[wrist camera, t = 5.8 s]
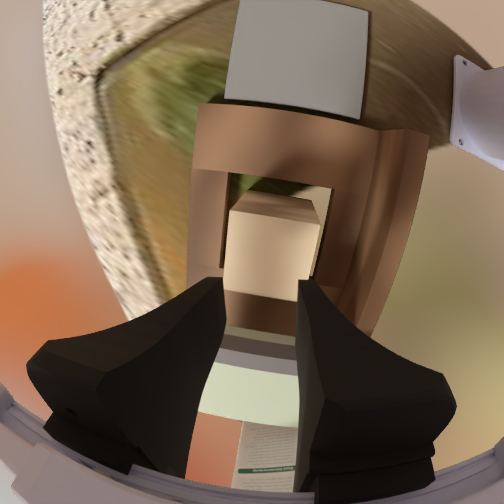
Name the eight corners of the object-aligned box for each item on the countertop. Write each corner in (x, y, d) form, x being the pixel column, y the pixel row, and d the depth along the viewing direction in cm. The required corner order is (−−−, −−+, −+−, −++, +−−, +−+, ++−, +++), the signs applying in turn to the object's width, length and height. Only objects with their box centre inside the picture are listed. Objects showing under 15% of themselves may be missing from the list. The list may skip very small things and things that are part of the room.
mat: (366, 14, 12) (368, 11, 12) (357, 120, 16) (359, 119, 15) (243, -4, 13) (241, -7, 12) (226, 99, 16) (224, 98, 16)
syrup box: (247, 381, 26) (220, 508, 13) (303, 371, 25) (299, 510, 11) (265, 410, 28) (248, 520, 15) (315, 402, 27) (314, 520, 13)
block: (311, 200, 18) (320, 225, 13) (299, 258, 20) (302, 302, 15) (247, 189, 19) (229, 210, 13) (240, 248, 21) (222, 289, 15)
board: (389, 135, 16) (430, 135, 10) (323, 366, 24) (327, 417, 19) (204, 105, 17) (168, 91, 11) (191, 344, 25) (170, 390, 19)
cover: (366, 345, 15) (372, 367, 13) (323, 421, 18) (324, 441, 17) (171, 312, 16) (158, 332, 14) (178, 397, 19) (170, 416, 17)
